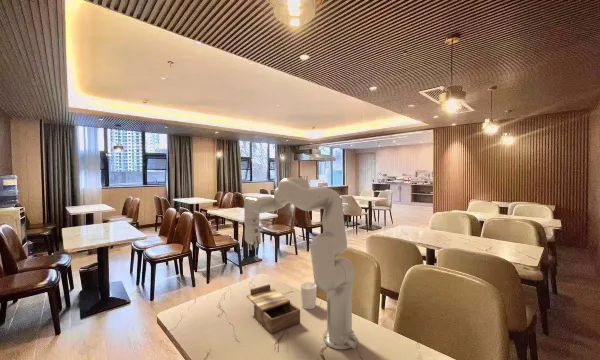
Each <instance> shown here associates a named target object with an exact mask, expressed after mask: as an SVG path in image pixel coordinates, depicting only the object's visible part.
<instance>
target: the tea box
mask: <svg viewBox="0 0 600 360" xmlns="http://www.w3.org/2000/svg"><path fill="white" fill-rule="evenodd" d="M253 317H254V319H256V321H257V322H258V323H259V324H261V325H260V326H263V328H264V329H265V330H267V332H268V333H269V334H270V335H271V336H272V335H275V334H277V333H280V332H282V331H285V330H287V329H290V328H292V327H294V326H297V325H299V324H301V309H300V308H299V307H297V306H296V305H294V304H293V303H292V302H291V301H290V302H289V303H286V304H283V305H280V306H277V307H274V308H271V309H268V310H265V311H261V310H260V309H259V308H258V307H257V306H256V305H255V304H254V303H253Z"/></svg>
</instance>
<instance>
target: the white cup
mask: <svg viewBox="0 0 600 360" xmlns="http://www.w3.org/2000/svg"><path fill="white" fill-rule="evenodd" d="M299 288H300V300H301V307H302V308H303V309H305V310H312V309H315V307H316V306H317V305H316V303H317V290H318V289H317V288H318V286H317V285H316V283H315V282H310V281H309V282H307V281H306V282H303V283H301V284H300V287H299Z"/></svg>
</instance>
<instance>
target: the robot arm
mask: <svg viewBox="0 0 600 360" xmlns="http://www.w3.org/2000/svg"><path fill="white" fill-rule="evenodd" d="M289 203H290V204H291V205H293V206H294V207H296V208H297V209H299V210H302V211H305V212H311V211H317V210H321V209H323V213H322V218H321V223H322V233H320V234H317V235H316V236H314V237H313V239H312V240H311V243H310V257H311V265H312V266H311V267H312V274H313V279H314V283H315V284H316V285H317V288H318V289H319V290H320V291H322V292H325V293H326V330H325V331H324V332H323V334H322V335H323V336H322V339H323V342H324V344H326V345H327V346H328V347H330V348H332V349H335V350H349V349H350V348H352V349H356V348H357V345H358V343H359V339H358V338H357V337H356V334H355V331H354V330H353V329H352V328H353V313H352V312H353V285H354V284H353V283H354V280H355V267H354V265H353V263H352V262H351V260H349V259H348V258H347V257H342V256H340V255H342V254H343V253H345V252H346V250H347V248H348V241H347V232H346V231H347V230H346V225H345V219H344V206H343V205H344V204H343V201H342V197H341V196H340V195H339V193H338V192H337V191H336V190H334V189H331V188H330V187H313V188H311V187H310V183H309V182H308V180H307V179H305V177H304V178H303V177H299V176H298V177H284V178H283V179H281V180H280V181H279V183H278V185H277V187H276V188H275V189H274V191H273V195H271V196H264V197H263V196H262V197H258V196H246V197H244V203H243V204H244V205H243V206H244V208H243V209H244V214H243V216H244V217H243V218H244V221H243V222H244V242H246V244H247V248H248V258H251V259H252V258H256V255H257V252H256V250H257V248H258V247H259V246H258V245H260V244H261V243H262V239H261V238H262V236H261V235H262V234H261V227H260V226H261V225H260V214H264V213H272V212H275V211H277V210H280V209H282V208H284V207H285V206H286V205H287V204H289ZM339 256H340V257H339ZM335 257H336V258H335Z"/></svg>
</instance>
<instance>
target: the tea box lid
mask: <svg viewBox="0 0 600 360" xmlns="http://www.w3.org/2000/svg"><path fill="white" fill-rule="evenodd" d="M249 291H250V294H247V295H246V298H247V299H248V300H249V301H250V302H251V303H252V304H253V305H254V304H255V305H256V306H257V307H258V308H259V309H260V310H261V311H265V310H268V309H271V308H274V307H277V306H280V305H283V304H286V303H289V302H290V303H291V300H290V299H289V298H288V297H287V296H285V295H283V294H282V293H281V292H279V291H277V290H276V289H275V288H273V287H272V288H271V284H265V285H261V286H258V287H257V286H256V287H254V288H250V290H249Z"/></svg>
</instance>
